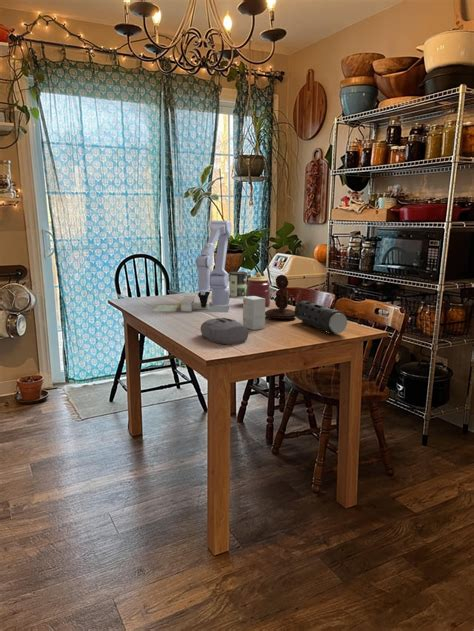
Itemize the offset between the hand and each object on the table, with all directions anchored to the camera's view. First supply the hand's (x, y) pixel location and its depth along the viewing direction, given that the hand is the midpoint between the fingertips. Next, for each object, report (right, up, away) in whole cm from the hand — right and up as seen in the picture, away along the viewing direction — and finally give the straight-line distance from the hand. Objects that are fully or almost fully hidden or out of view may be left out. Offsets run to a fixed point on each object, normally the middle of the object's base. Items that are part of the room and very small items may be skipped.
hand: (203, 306), depth 245 cm
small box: (+24, -10, -36) cm, 44 cm away
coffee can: (+17, +6, +39) cm, 43 cm away
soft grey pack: (+11, -14, -55) cm, 58 cm away
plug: (-6, -1, 0) cm, 6 cm away
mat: (-5, -1, 0) cm, 6 cm away
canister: (+28, +1, +13) cm, 31 cm away
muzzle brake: (+52, -11, -38) cm, 65 cm away
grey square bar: (-8, -1, 0) cm, 8 cm away
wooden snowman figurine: (+37, -6, -17) cm, 41 cm away
